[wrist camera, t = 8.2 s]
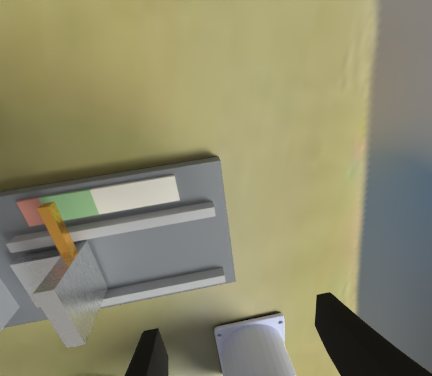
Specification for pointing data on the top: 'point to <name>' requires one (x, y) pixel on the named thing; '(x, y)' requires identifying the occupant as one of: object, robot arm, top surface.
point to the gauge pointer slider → (63, 281)
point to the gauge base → (125, 232)
